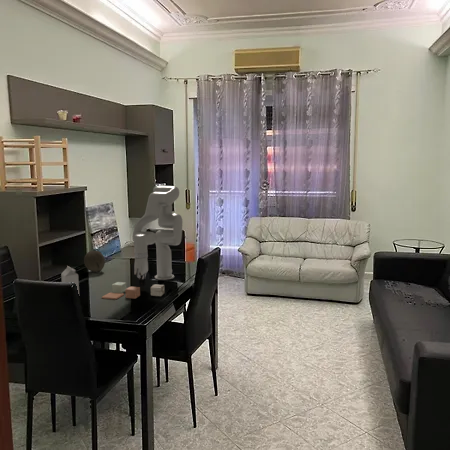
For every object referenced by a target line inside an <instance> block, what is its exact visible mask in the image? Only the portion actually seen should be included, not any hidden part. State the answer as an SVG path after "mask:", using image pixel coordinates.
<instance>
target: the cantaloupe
mask: <svg viewBox="0 0 450 450" xmlns="http://www.w3.org/2000/svg"><path fill="white" fill-rule="evenodd" d="M83 262H84V266H85V268H86V269H87V270H88V271H90V272H93V273H99V272H101V271H102V270H103V269H104V267H105V265H106V260H105V257H104V255H103V253H102V252H101V251H99V250H90V251H88V252H87V253H86V254H85V255H84V259H83Z"/></svg>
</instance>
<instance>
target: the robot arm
mask: <svg viewBox="0 0 450 450" xmlns="http://www.w3.org/2000/svg"><path fill="white" fill-rule="evenodd" d="M179 197H180V190H179V187H178V186H174V185H157V186H154V187H153V189H152V192H151V193H150V194H149V195H148V199H147V203H146V208H145V213H144V214H143V216H142V217H140V218H139V220H137V222H136V223H135V225H134V228H133V232H132V241H133V250H134V265H133V266H134V275H135V276H136V277H137V278H138V280H139V281H138V282H139V287H140V286H142V287H143V286H146V276H147V273H148V271H149V261H148V257H149V254H148V246H149V245H154V244H155V247H156V275H154V279H155V280H161V281H165V280H166V281H167V280H173V279H174V278H175V275H174V274H172V273H173V269H172V249H171V248H170V246H179V245H180V244H181V242H182V237H183V236H182V235H183V217H182V215H181V214H179V213H173V206H172V205H173V204H174V203H175V202H176V201H177V199H178V198H179ZM156 220H157V225H158V227H159V228H163V229H159V230H157V231H156V232H153V231H142V230H143V228H144V226H146V225H147V224H149V223H152V222H153V221H156ZM169 229H172V230H169Z"/></svg>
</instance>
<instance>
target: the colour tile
mask: <svg viewBox="0 0 450 450" xmlns="http://www.w3.org/2000/svg"><path fill="white" fill-rule="evenodd" d="M124 293H125V292H123V293H112V292H108V293H106V294H105V295H103V296H101V299H104V300H118V299H119V298H122V297H123V296H124V295H125V294H124Z"/></svg>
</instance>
